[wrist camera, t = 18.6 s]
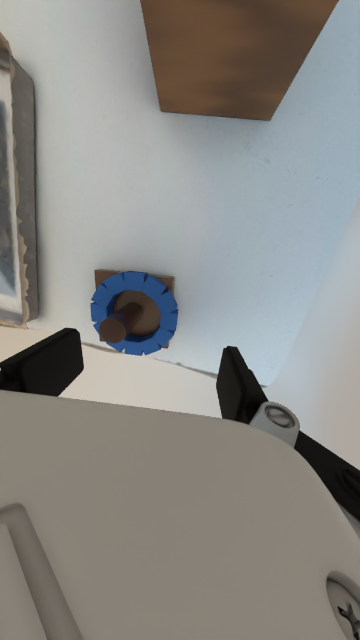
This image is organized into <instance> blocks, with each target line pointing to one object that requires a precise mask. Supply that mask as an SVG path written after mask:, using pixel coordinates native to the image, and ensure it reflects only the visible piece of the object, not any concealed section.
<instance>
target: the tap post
mask: <svg viewBox="0 0 360 640" xmlns="http://www.w3.org/2000/svg"><path fill="white" fill-rule="evenodd" d="M121 272H122V271H112V270H102V269H100V270H95V283H96V290H97V288H98V286H99V284H102V283H104V282H103V281H104V280H106V279H108V278H110V277H112V276H114V275H116V274H118V273H121ZM150 275H151V274H148V276H150ZM153 276H155V277H156V278H157V279H159V280H160V281H161V282H163V283H164V284H166V285H167V287H166V289H165V290H164V292H165V291H167V290H169V289H170V290H171V292H172V294H173V290H174V277H171V276H161V275H153ZM160 318H161V313H160V311H159V309H158V307H157V305H156V303H155V301H154V300H153V299H152V298H150V297H149V296H147V295H146V294H144V293H143V292H142V291H134V290H125V291H123V292H121V293H119V295H118V297H117V298H116V300H115V302H114V303H113V314H112V315H110V316H109V317H107V318H106V319H104V320H103V321H102V322H101V323H100V325H99V333H100V335H99V337H100V336H101V337H102V338H103V339H104V340H102V338H101V337H100V341H103V342H109V343H112V344H116V343H120V342H121V341H123V340H124V338H125V337H126V336H127V335H128V334H131V335H136V336H146V335H148V334H151V333H153V332H155V331H156V330H157V328H158V327H159V326H160ZM168 346H169V342H168V343H167V344H166V345H165V347H163V346H162V347H161V348H168Z"/></svg>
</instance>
